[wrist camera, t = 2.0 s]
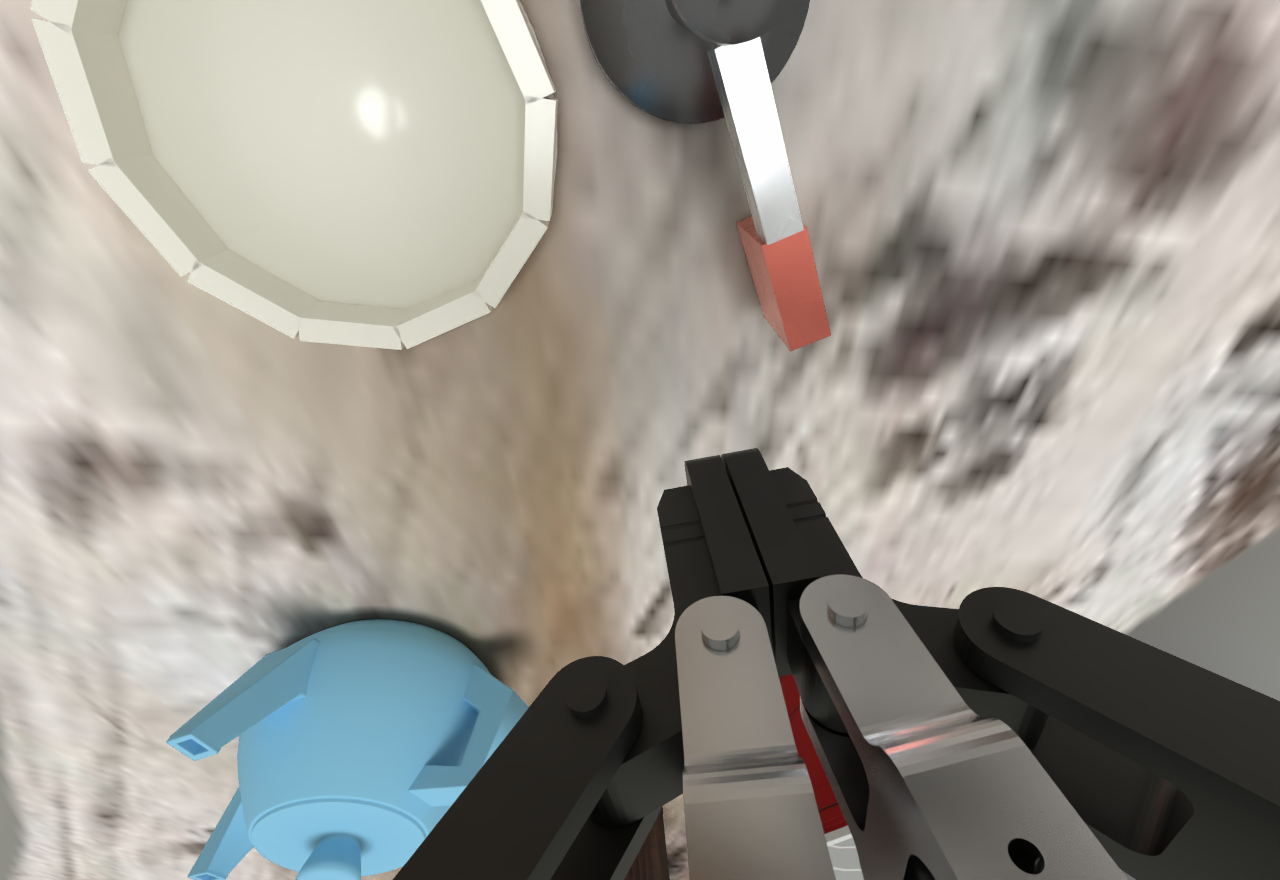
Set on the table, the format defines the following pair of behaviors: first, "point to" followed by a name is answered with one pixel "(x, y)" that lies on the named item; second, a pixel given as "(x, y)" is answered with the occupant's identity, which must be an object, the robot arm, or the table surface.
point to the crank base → (684, 47)
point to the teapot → (349, 747)
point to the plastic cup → (822, 791)
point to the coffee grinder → (651, 855)
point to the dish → (319, 150)
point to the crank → (769, 198)
